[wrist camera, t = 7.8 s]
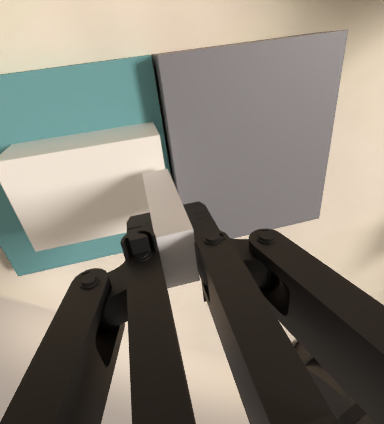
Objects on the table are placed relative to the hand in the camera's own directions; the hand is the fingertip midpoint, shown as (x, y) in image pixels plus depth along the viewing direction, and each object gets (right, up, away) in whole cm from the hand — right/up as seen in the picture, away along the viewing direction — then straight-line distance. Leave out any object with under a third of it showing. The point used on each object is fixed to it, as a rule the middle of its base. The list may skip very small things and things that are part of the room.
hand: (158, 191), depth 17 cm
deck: (+6, +4, +6) cm, 9 cm away
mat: (-7, +2, +4) cm, 8 cm away
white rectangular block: (-5, +1, +3) cm, 6 cm away
